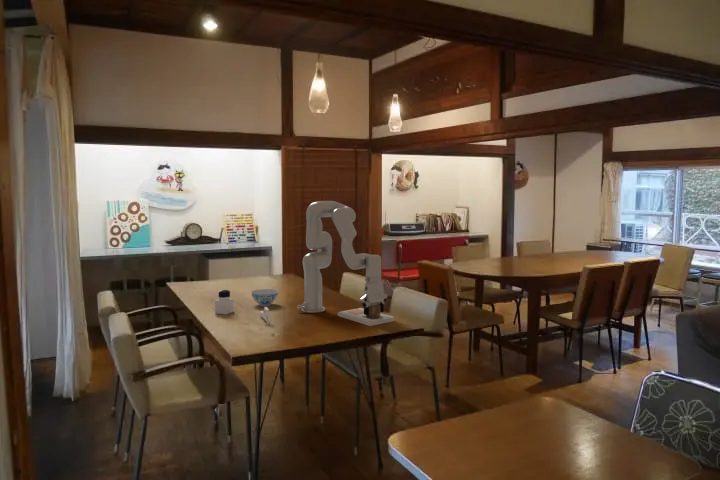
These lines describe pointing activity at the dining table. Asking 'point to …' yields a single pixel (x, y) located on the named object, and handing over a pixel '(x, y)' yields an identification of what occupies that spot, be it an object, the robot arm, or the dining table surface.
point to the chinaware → (264, 296)
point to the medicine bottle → (224, 303)
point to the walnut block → (373, 311)
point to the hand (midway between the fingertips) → (373, 313)
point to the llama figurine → (265, 314)
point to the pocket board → (364, 317)
